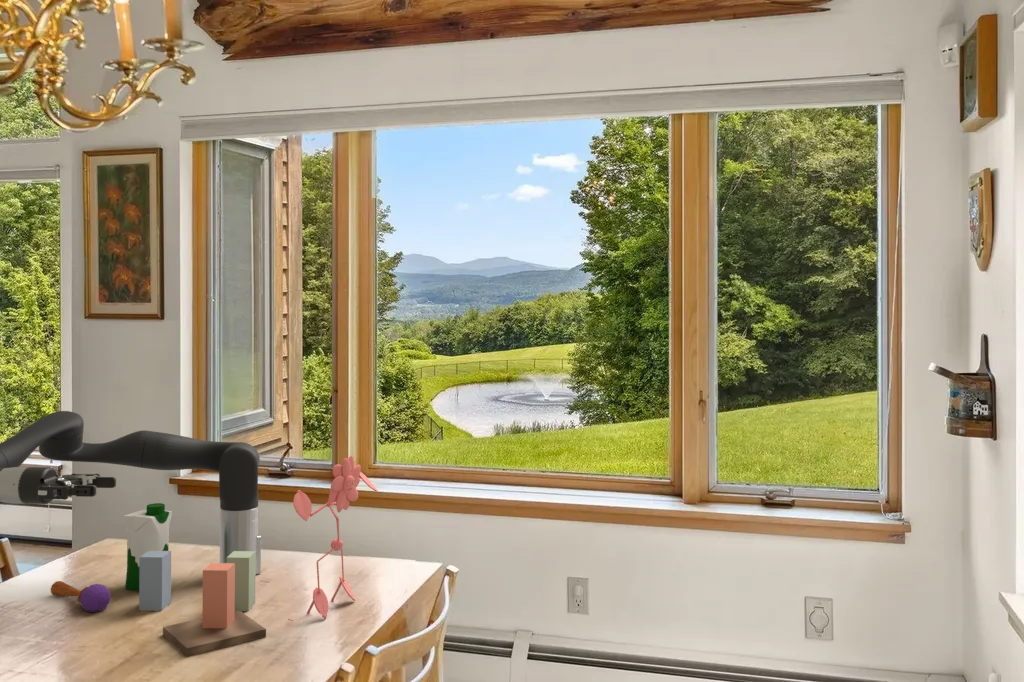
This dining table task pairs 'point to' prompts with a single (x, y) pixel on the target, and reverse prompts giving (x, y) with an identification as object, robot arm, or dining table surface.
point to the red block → (218, 595)
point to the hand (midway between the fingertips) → (105, 486)
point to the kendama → (85, 595)
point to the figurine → (342, 493)
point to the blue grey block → (155, 580)
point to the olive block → (244, 578)
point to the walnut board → (212, 634)
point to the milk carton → (145, 538)
